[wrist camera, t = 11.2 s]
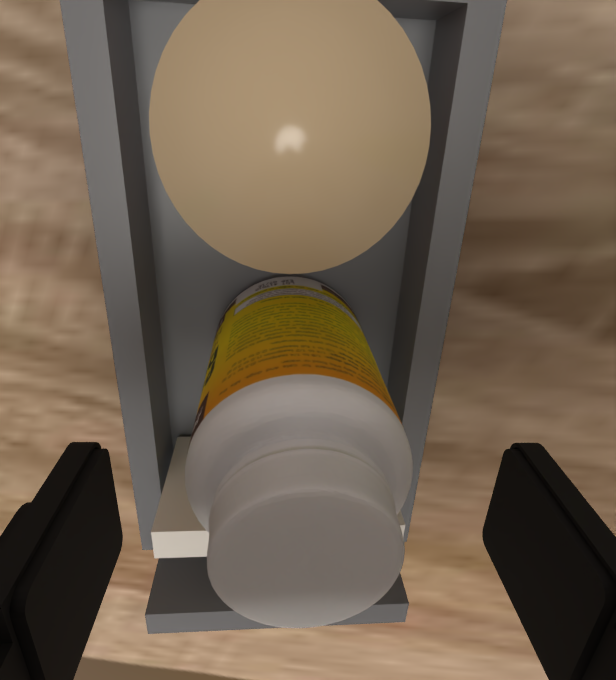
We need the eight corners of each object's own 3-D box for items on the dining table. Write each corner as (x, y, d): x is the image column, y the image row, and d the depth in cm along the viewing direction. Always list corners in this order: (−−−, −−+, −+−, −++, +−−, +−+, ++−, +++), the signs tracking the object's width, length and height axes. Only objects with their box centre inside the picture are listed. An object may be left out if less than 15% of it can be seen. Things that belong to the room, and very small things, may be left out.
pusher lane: (462, -10, 15) (606, -102, 8) (388, 483, 23) (432, 620, 17) (98, -37, 14) (-45, -163, 8) (160, 488, 22) (118, 635, 16)
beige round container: (383, 28, 14) (452, -23, 9) (364, 223, 17) (410, 276, 11) (186, 16, 14) (132, -47, 8) (197, 218, 16) (162, 271, 11)
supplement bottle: (201, 282, 17) (124, 478, 8) (353, 261, 17) (449, 430, 8) (231, 409, 20) (198, 671, 10) (363, 390, 20) (447, 633, 10)
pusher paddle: (375, 434, 20) (405, 525, 16) (372, 456, 21) (400, 550, 16) (177, 436, 20) (150, 531, 15) (179, 459, 20) (154, 558, 16)
